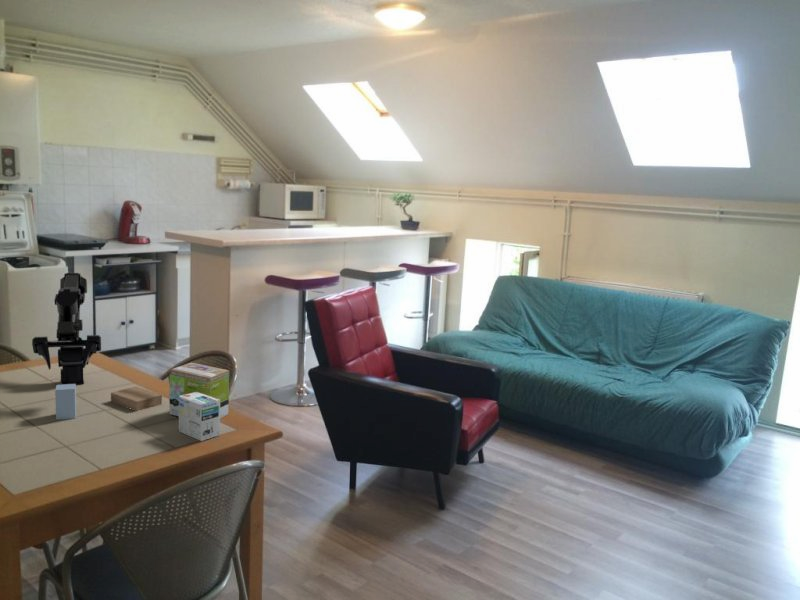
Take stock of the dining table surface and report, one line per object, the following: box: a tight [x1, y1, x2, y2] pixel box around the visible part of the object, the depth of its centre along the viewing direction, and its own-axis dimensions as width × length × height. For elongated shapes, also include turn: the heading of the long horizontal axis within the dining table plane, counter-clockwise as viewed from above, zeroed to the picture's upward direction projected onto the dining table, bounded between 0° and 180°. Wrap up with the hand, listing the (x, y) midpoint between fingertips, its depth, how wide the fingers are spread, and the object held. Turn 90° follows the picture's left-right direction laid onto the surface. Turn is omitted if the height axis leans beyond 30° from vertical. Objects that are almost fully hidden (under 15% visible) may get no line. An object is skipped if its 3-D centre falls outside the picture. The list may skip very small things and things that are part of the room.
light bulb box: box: [178, 392, 221, 442], centre depth 187 cm, size 11×7×11 cm, turn 54°
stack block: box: [110, 386, 163, 412], centre depth 209 cm, size 9×13×4 cm
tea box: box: [168, 361, 230, 419], centre depth 201 cm, size 15×10×15 cm, turn 68°
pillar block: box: [54, 383, 77, 421], centre depth 194 cm, size 5×5×9 cm
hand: (66, 368), depth 198 cm, fingers open, 9 cm apart
